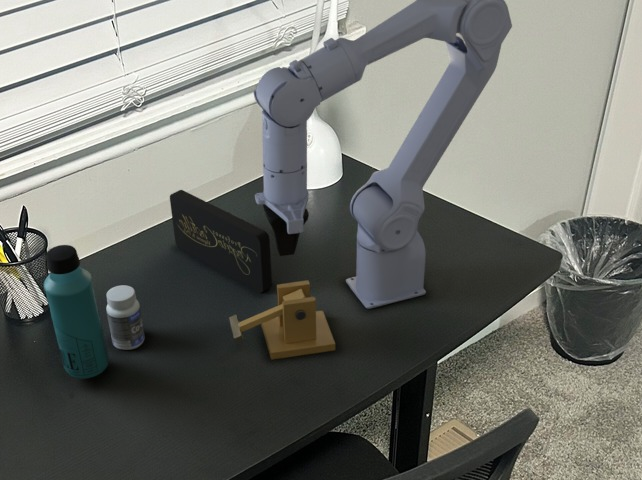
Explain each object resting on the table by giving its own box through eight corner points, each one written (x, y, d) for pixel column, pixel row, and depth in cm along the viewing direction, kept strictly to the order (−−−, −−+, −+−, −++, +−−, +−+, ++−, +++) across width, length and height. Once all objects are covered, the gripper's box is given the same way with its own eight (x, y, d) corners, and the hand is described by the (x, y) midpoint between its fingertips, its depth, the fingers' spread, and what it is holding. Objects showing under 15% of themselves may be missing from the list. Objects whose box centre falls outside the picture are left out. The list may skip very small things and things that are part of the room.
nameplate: (272, 289, 139) (269, 232, 133) (263, 295, 138) (259, 238, 132) (184, 241, 152) (178, 187, 146) (175, 246, 151) (168, 192, 145)
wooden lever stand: (271, 359, 126) (268, 314, 121) (261, 325, 132) (258, 280, 127) (335, 350, 126) (335, 304, 121) (322, 316, 132) (322, 271, 128)
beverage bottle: (118, 361, 128) (95, 239, 116) (99, 392, 124) (73, 267, 111) (77, 355, 130) (49, 234, 118) (56, 385, 126) (25, 262, 113)
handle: (238, 347, 126) (232, 335, 124) (233, 326, 130) (227, 313, 128) (312, 315, 124) (306, 303, 122) (305, 295, 128) (299, 282, 126)
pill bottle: (140, 351, 130) (132, 303, 125) (108, 350, 131) (99, 302, 125) (148, 331, 133) (141, 283, 128) (117, 330, 134) (108, 282, 129)
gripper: (246, 142, 124) (249, 230, 133) (263, 192, 113) (266, 284, 121) (297, 137, 125) (297, 224, 133) (320, 186, 113) (318, 278, 122)
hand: (286, 252), depth 127 cm, fingers closed
